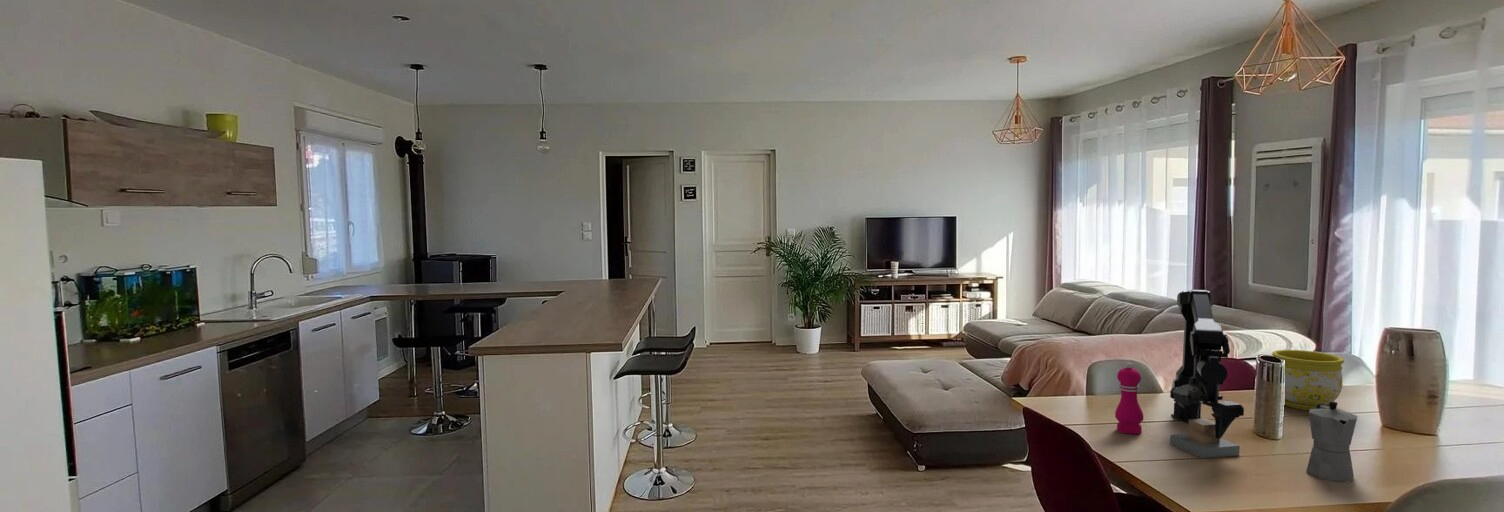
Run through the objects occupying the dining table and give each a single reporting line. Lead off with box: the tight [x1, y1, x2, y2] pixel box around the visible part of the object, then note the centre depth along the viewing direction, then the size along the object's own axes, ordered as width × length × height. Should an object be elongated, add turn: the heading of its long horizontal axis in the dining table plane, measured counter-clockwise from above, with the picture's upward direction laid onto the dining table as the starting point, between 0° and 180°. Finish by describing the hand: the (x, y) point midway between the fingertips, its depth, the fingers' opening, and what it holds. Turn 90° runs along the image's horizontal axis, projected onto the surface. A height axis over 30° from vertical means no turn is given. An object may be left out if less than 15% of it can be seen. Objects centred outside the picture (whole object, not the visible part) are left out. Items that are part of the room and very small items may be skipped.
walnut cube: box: [1187, 417, 1220, 444], centre depth 186 cm, size 5×5×5 cm
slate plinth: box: [1169, 433, 1241, 459], centre depth 186 cm, size 11×11×2 cm
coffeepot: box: [1305, 401, 1358, 483], centre depth 168 cm, size 15×9×18 cm, turn 159°
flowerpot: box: [1271, 349, 1345, 411], centre depth 224 cm, size 18×18×16 cm
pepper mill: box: [1114, 362, 1144, 435], centre depth 201 cm, size 7×7×20 cm
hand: (1204, 432), depth 186 cm, fingers open, 9 cm apart
